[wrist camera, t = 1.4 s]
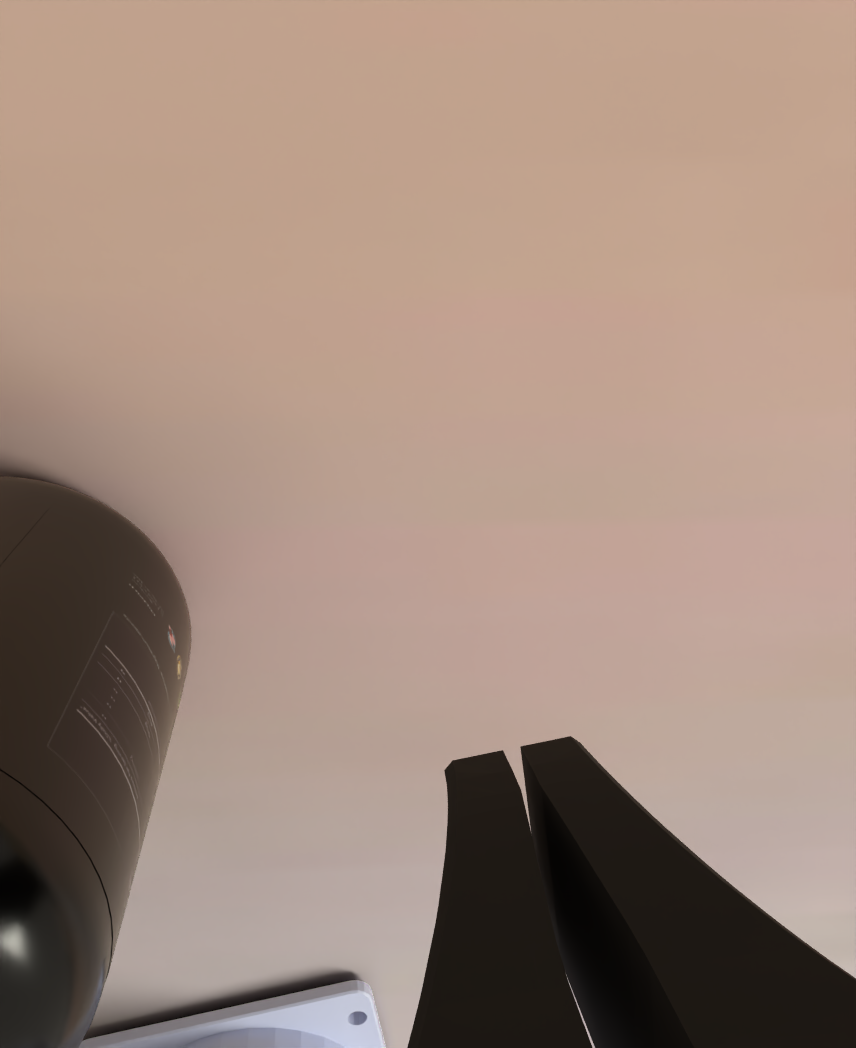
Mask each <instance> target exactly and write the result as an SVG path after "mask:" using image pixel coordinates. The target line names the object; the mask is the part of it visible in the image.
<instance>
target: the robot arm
mask: <svg viewBox="0 0 856 1048" xmlns="http://www.w3.org/2000/svg"><path fill="white" fill-rule="evenodd" d="M521 754H522V762H523V770H524V778H525V786H526V794H527V802H528V810H529V818H530V826H531V831H530V826H529V822H528V818H527V814H526V809H525V805H524V801H523V797H522V793H521V789H520V787H519V785H518V782H517V780H516V778H515V775H514V773H513V771H512V768H511V766H510V764H509V762H508V760H507V758H506V756H505V754H504V752H503V750H502V751H497V752H492V753H487V754H482V755H478V756H473V757H468V758H463V759H458V760H453V761H452V762H451V763H450V764H449V766H448V767H447V768H446V769H445V770H444V771H445V776H446V782H447V792H448V826H447V840H446V853H445V861H444V868H443V876H442V883H441V891H440V898H439V906H438V912H437V918H436V924H435V929H434V934H433V938H432V943H431V948H430V953H429V958H428V963H427V968H426V973H425V978H424V982H423V987H422V992H421V996H420V1000H419V1004H418V1009H417V1013H416V1017H415V1021H414V1025H413V1029H412V1032H411V1036H410V1040H409V1044H408V1048H592V1045H591V1043H590V1040H589V1037H588V1034H587V1032H586V1029H585V1026H584V1024H583V1021H582V1018H581V1015H580V1013H579V1010H578V1007H577V1004H576V1002H575V999H574V996H573V994H572V991H571V988H572V990H573V993H574V995H575V998H576V1000H577V1003H578V1005H579V1008H580V1010H581V1013H582V1015H583V1018H584V1021H585V1023H586V1026H587V1028H588V1031H589V1033H590V1036H591V1038H592V1041H593V1043H594V1046H595V1048H856V978H854V977H853V976H851V975H850V974H849V973H847V972H846V971H844V970H843V969H841V968H840V967H839V966H837V965H836V964H834V963H833V962H831V961H830V960H828V959H827V958H826V957H824V956H823V955H822V954H820V953H819V952H817V951H816V950H815V949H813V948H812V947H811V946H809V945H808V944H807V943H805V942H804V941H802V940H801V939H800V938H798V937H797V936H796V935H794V934H793V933H792V932H791V931H789V930H788V929H787V928H785V927H784V926H783V925H781V924H780V923H779V922H777V921H776V920H775V919H773V918H772V917H771V916H770V915H768V914H767V913H766V912H765V911H763V910H762V909H761V908H760V907H758V906H757V905H756V904H755V903H753V902H752V901H751V900H750V899H748V898H747V897H746V896H745V895H743V894H742V893H741V892H740V891H738V890H737V889H736V888H735V887H733V886H732V885H731V884H730V883H729V882H727V881H726V880H725V879H724V878H723V877H721V876H720V875H719V874H718V873H717V872H715V871H714V870H713V869H712V868H711V867H709V866H708V865H707V864H706V863H705V862H704V861H703V860H701V859H700V858H699V857H698V856H697V855H696V854H695V853H693V852H692V851H691V850H690V849H689V848H688V847H687V846H686V845H684V844H683V843H682V842H681V841H680V840H679V839H678V838H677V837H675V836H674V835H673V834H672V833H671V832H670V831H669V830H667V829H666V828H665V827H664V826H663V825H662V824H661V823H660V822H659V821H658V820H657V819H655V818H654V817H653V816H652V815H651V814H650V813H649V812H648V811H647V810H646V809H645V808H644V807H643V806H642V805H641V804H640V803H639V802H638V801H636V800H635V799H634V798H633V797H632V796H631V795H630V794H629V793H628V792H627V791H626V790H625V789H624V788H623V787H622V786H621V785H620V784H619V783H618V782H617V781H616V780H615V779H614V778H613V777H612V776H611V775H610V774H609V773H608V772H607V771H606V770H605V769H604V768H603V767H602V766H601V765H600V764H599V763H598V761H597V760H596V759H595V758H594V757H593V756H592V755H591V754H590V753H589V752H588V751H587V750H586V749H585V748H584V746H583V745H582V744H581V743H580V742H578V741H577V740H575V739H574V738H572V737H571V736H570V737H565V738H560V739H555V740H550V741H546V742H541V743H536V744H531V745H526V746H521ZM531 833H532V835H531ZM565 972H566V973H565ZM566 975H567V976H566ZM567 977H568V980H569V983H570V985H571V988H570V985H569V983H568V980H567ZM79 1048H386V1045H385V1041H384V1037H383V1033H382V1029H381V1025H380V1021H379V1017H378V1013H377V1009H376V1005H375V1001H374V997H373V993H372V989H371V988H370V986H369V985H368V984H367V983H365V982H364V981H360V980H350V981H345V982H341V983H336V984H332V985H327V986H323V987H318V988H314V989H309V990H305V991H300V992H296V993H291V994H287V995H282V996H278V997H273V998H269V999H264V1000H260V1001H255V1002H251V1003H246V1004H242V1005H237V1006H233V1007H228V1008H224V1009H219V1010H215V1011H210V1012H206V1013H201V1014H197V1015H192V1016H188V1017H183V1018H179V1019H174V1020H170V1021H165V1022H161V1023H156V1024H152V1025H147V1026H143V1027H138V1028H134V1029H129V1030H125V1031H120V1032H116V1033H111V1034H107V1035H102V1036H98V1037H93V1038H89V1039H86V1040H83V1041H82V1042H81V1044H80V1046H79Z"/></svg>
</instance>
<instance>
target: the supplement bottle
mask: <svg viewBox="0 0 856 1048" xmlns="http://www.w3.org/2000/svg"><path fill="white" fill-rule="evenodd" d="M190 649H191V624H190V617H189V611H188V607H187V604H186V600H185V597H184V594H183V592H182V589H181V586H180V584H179V582H178V580H177V578H176V576H175V574H174V572H173V570H172V568H171V567H170V565H169V563H168V562H167V560H166V559H165V557H164V556H163V555H162V553H161V552H160V551H159V550H158V548H157V547H156V546H155V545H154V543H153V542H152V541H151V540H150V539H149V538H148V537H147V536H146V535H145V534H144V533H143V532H142V531H141V530H140V529H138V528H137V527H136V526H135V525H134V524H133V523H132V522H130V521H129V520H128V519H126V518H125V517H123V516H122V515H121V514H119V513H118V512H116V511H115V510H113V509H112V508H110V507H108V506H107V505H105V504H103V503H101V502H99V501H97V500H95V499H93V498H91V497H89V496H87V495H85V494H83V493H80V492H78V491H75V490H72V489H70V488H67V487H63V486H60V485H57V484H54V483H49V482H45V481H40V480H35V479H29V478H21V477H6V476H0V1048H79V1046H80V1044H81V1042H82V1040H83V1038H84V1036H85V1035H86V1033H87V1031H88V1029H89V1027H90V1025H91V1022H92V1020H93V1017H94V1014H95V1011H96V1008H97V1006H98V1003H99V1000H100V997H101V994H102V991H103V988H104V984H105V981H106V978H107V976H108V973H109V969H110V965H111V962H112V958H113V954H114V950H115V947H116V943H117V939H118V935H119V932H120V928H121V924H122V920H123V916H124V913H125V909H126V905H127V901H128V897H129V894H130V890H131V886H132V882H133V878H134V875H135V871H136V867H137V863H138V859H139V856H140V852H141V848H142V844H143V841H144V837H145V833H146V829H147V825H148V822H149V818H150V814H151V810H152V806H153V803H154V799H155V795H156V791H157V787H158V784H159V780H160V776H161V772H162V768H163V765H164V761H165V757H166V753H167V749H168V746H169V742H170V738H171V734H172V730H173V727H174V723H175V719H176V715H177V711H178V708H179V704H180V700H181V696H182V692H183V687H184V682H185V678H186V674H187V669H188V665H189V659H190Z"/></svg>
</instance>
